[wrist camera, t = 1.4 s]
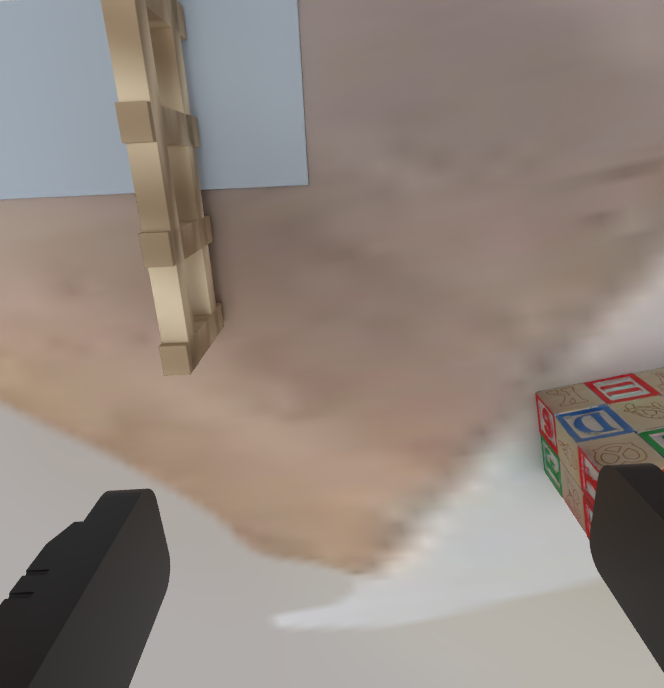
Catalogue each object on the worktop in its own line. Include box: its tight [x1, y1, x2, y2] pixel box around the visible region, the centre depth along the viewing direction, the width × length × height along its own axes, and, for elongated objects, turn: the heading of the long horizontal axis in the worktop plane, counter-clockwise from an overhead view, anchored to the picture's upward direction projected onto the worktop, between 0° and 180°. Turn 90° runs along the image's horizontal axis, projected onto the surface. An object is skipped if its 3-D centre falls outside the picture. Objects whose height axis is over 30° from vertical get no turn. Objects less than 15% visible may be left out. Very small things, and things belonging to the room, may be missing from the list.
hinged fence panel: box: [101, 0, 224, 376], centre depth 22 cm, size 16×1×7 cm, turn 3°
